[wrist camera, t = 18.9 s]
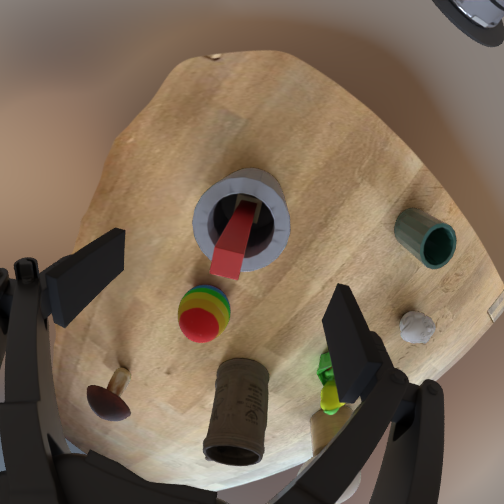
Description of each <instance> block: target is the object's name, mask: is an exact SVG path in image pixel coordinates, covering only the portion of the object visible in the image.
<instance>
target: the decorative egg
mask: <svg viewBox="0 0 504 504" xmlns="http://www.w3.org/2000/svg"><path fill="white" fill-rule="evenodd" d="M229 319H230V304H229V301H228V299H227V297H226V295H225V294H224V293H223V292H222V291H221V290H220V289H218V288H216V287H214V286H211V285H199V286H196V287H194V288H192V289H191V290H189V291H188V292H187V293H186V294H185V295H184V297H183V298H182V300H181V302H180V305H179V308H178V322H179V326H180V328H181V330H182V332H183V334H184V335H185V336H186V337H187V338H188V339H190V340H192V341H194V342H198V343H204V342H209V341H211V340H213V339H215V338H217V337H218V336H219V335H220V334H221V333H222V332H223V331H224V330H225V328H226V326H227V324H228V322H229Z"/></svg>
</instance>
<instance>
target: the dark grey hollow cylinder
mask: <svg viewBox="0 0 504 504" xmlns="http://www.w3.org/2000/svg"><path fill="white" fill-rule="evenodd" d="M268 382H269V373H268V371H267V370H266V369H265V367H264V366H262V365H261V364H259V363H258V362H255V361H252V360H248V359H232V360H228V361H226V362H224V363H223V364H222V365H220V367H219V368H218V370H217V379H216V382H215V387H216V391H215V398H214V403H213V409H212V414H211V419H210V424H209V428H208V433H207V437H206V438H205V439H204V441H203V453H204V454H205V456H206V457H205V459H206V460H207V461H215V462H218V463H221V464H225V465H232V466H248V465H253V464H256V463H259V462H260V461H261V460H262V457H263V454H264V449H265V448H264V437H265V430H266V427H267V412H268V394H269V393H268Z"/></svg>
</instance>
